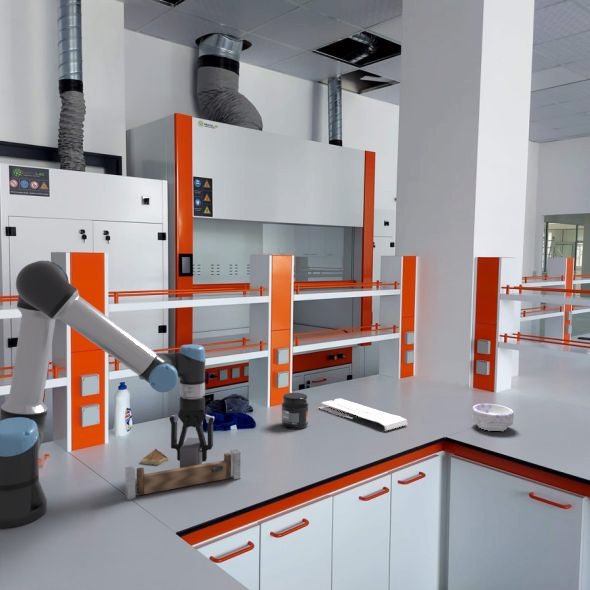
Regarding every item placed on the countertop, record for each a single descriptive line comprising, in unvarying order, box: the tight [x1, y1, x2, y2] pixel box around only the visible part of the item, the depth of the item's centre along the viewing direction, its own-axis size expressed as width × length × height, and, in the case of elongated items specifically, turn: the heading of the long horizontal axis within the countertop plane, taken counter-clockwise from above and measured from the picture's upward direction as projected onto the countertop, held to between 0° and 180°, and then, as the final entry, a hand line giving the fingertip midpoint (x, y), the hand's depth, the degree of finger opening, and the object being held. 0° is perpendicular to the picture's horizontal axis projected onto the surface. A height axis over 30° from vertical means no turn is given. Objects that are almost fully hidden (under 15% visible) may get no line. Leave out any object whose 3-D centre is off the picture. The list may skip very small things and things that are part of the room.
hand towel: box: [319, 397, 409, 432], centre depth 228 cm, size 12×4×40 cm
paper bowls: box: [471, 403, 515, 432], centre depth 215 cm, size 15×15×8 cm
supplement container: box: [281, 392, 309, 430], centre depth 215 cm, size 10×10×12 cm
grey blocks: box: [124, 448, 241, 501], centre depth 158 cm, size 33×3×8 cm, turn 118°
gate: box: [136, 452, 232, 496], centre depth 158 cm, size 27×3×7 cm, turn 118°
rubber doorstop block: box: [179, 437, 201, 468], centre depth 168 cm, size 5×10×9 cm, turn 178°
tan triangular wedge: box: [140, 448, 169, 466], centre depth 180 cm, size 11×8×2 cm
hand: (192, 470), depth 168 cm, fingers closed on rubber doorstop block, 5 cm apart
